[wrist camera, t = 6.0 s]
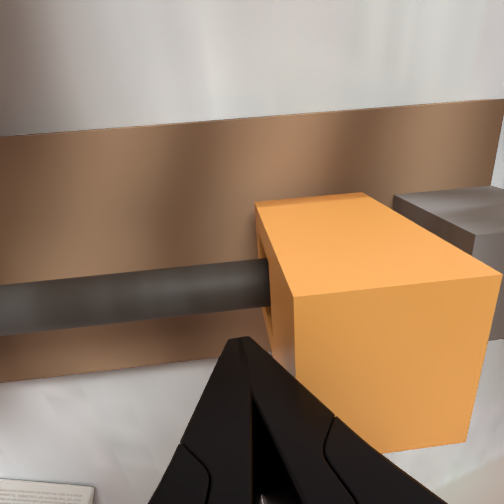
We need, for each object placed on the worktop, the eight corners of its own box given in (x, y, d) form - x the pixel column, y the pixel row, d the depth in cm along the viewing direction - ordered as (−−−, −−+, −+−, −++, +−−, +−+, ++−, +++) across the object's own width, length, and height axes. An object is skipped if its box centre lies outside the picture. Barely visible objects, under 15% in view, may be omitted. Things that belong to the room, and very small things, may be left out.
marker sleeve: (361, 192, 13) (502, 274, 7) (356, 296, 15) (465, 441, 8) (254, 201, 13) (293, 297, 6) (261, 307, 15) (297, 465, 8)
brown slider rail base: (483, 99, 14) (655, 95, 9) (448, 314, 18) (551, 406, 13) (-159, 148, 13) (-447, 181, 7) (-49, 371, 17) (-182, 505, 11)
